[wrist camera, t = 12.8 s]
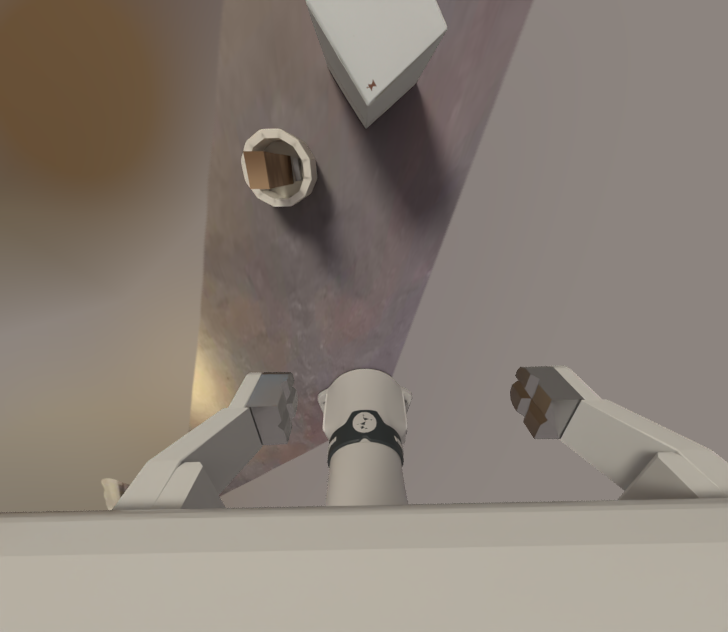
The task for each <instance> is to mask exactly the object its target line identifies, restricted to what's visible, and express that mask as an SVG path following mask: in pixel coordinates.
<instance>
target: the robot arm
mask: <svg viewBox="0 0 728 632" xmlns="http://www.w3.org/2000/svg"><path fill="white" fill-rule="evenodd" d="M515 376H516V378H517V379H518V381H516V382H515V383H514V384H513V385H512V387H511V391H510V396H511V401H512V404H513V406H514V408H515V410H516V411H517V412H518V413H520V414H521V415H523V416H524V424H525V425H526V427H527V428H528V430H529V431H530V433H531V435H532V436H533V438H534V439H560V441H562V442H563V443H564V444H565V445H567V446H568V447H569V448H571V449H572V450H573V451H574V452H576V453H577V454H578V455H580V456H581V457H582V458H583V459H585V460H586V461H587V462H589V463H590V464H591V465H592V466H594V467H595V468H597V469H598V470H599V471H600V472H601V473H603V474H604V475H605V476H607V477H608V478H609V479H610V480H612V481H613V482H614V483H616V484H617V485H618V486H619V487H621V488H622V489H623V490H625V491H624V493H623V494H622V495H621V496H620V497H619V499H618V500H602V501H552V502H504V503H453V504H408V501H407V496H406V490H405V485H404V479H403V472H402V466H403V462H404V461H403V446H402V444H404V443H405V435H406V434H407V427H408V425H407V416H406V414H407V411H408V408H409V406H410V402H411V400H412V393H411V392H410V391H409V390H407V389H405V388H403V387H401V386H399V385H398V383H397V382H396V381H395V380H394V379H393V378H392V377H391V376H389V375H387V374H386V373H383V372H381V371H378V370H373V369H358V370H353V371H349V372H347V373H345V374H343V375H341V376H340V377H338V378H337V379H336V380H335V381H334V382H333V383H332V385H331V386H330V387H329V388H328V389H326V390H324V391H322V392H321V393H319V395H318V402H319V404H320V407H321V409H322V411H323V414H324V419H323V431H324V432H325V434H326V436H327V438H328V439H329V447H328V454H327V456H328V466H329V477H328V485H327V486H328V487H327V495H326V504H325V506H307V507H259V508H258V507H257V508H225V505H224V504H223V502H222V500H221V499H220V497H219V494H220V493H221V492H222V491H223V490H224V489H225V488H226V486H227V485H228V484H229V483H230V482H231V481H232V480H233V479H234V478H235V476H236V475H237V474H238V473H239V472H240V471H241V470H242V469H243V468H244V466H245V465H246V464H247V463H248V462H249V461H250V460H251V459H252V458H253V457H254V455H255V454H256V453H257V452H258V451H259V450H260V449H261V448H262V445H276V444H287V443H288V440H289V436H290V433H291V429H292V424H291V419H292V418H293V417H295V414H296V410H297V402H298V400H297V391H296V389H295V388H294V387H293V383H294V377H293V374H292V373H291V372H264V373H249V374H247V375H246V377H245V379H244V380H243V382H242V384H241V386H240V387H239V389H238V391H237V393H236V394H235V396H234V398H233V400H232V402H231V403H230V405H229V407H228V408H223V409H222V410H220V411H219V412H217V413H216V414H214V415H213V416H212V417H210V418H209V419H207V420H206V421H204V422H203V423H202V424H200V425H199V426H197V427H196V428H195V429H193V430H192V431H190V432H189V433H187V434H186V435H185V436H183V437H182V438H180V439H179V440H177V441H176V442H175V443H173V444H172V445H170V446H169V447H168V448H166V449H165V450H163V451H162V452H160V453H159V454H158V455H156V456H155V457H153V458H152V459H151V460H149V461H148V462H147V463H146V464H145V466H144V467H143V468H142V470H141V471H140V473H139V474H138V475H137V477H136V478H135V479H134V481H133V482H132V483H131V485H130V486H129V487H128V489H127V490H126V491H125V493H124V494H123V496H122V497H121V498H120V500H119V501H118V502H117V504H116V505H115V506H114V508H113V509H112V510H99V511H53V512H52V511H46V512H0V632H728V463H727V462H726V461H725V460H723V459H722V458H721V457H720V456H718V455H717V454H716V453H715V452H713V451H712V450H710V449H708V448H706V447H704V446H702V445H700V444H698V443H696V442H694V441H691V440H690V439H688V438H686V437H683V436H681V435H679V434H677V433H675V432H673V431H671V430H669V429H667V428H665V427H663V426H661V425H659V424H656V423H655V422H652V421H650V420H648V419H646V418H644V417H642V416H640V415H638V414H636V413H634V412H632V411H630V410H628V409H626V408H624V407H621V406H619V405H617V404H615V403H613V402H611V401H609V400H602V399H601V398H600V397H599V396H598V395H597V394H596V393H595V392H594V391H593V390H592V389H591V388H589V386H588V385H587V384H586V383H584V382H583V381H582V380H581V379H580V378H579V377H578V376H577V375H576V374H575V373H574V372H573V371H572V370H571V369H570V368H568V367H566V366H564V365H560V366H541V367H520V368H519V369H518V370H517V372H516V375H515ZM404 400H405V401H404Z"/></svg>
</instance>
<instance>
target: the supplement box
mask: <svg viewBox="0 0 728 632" xmlns="http://www.w3.org/2000/svg"><path fill="white" fill-rule="evenodd" d="M306 4H307V7H308V10H309V14H310V17H311V20H312V23H313V26H314V28H315V31H316V34H317V37H318V40H319V43H320V45H321V48H322V51H323V54H324V57H325V60H326V63H327V66H328V68H329V70H330V72H331V74H332V75H333V77H334V79H335V80H336V82H337V84H338V85H339V87H340V89H341V90H342V92H343V94H344V95H345V97H346V99H347V100H348V102H349V103H350V105H351V107H352V108H353V110H354V111H355V113H356V114H357V116H358V118H359V119H360V121H361V122H362V124H363V125H364V127H365V129H367V128H368V127H369V126H370V125H371V124H372V123H373V122H374V121H375V120H376V119H378V118H379V117H380V116H381V115H382V114H383V113H384V112H385V111H387V110H388V109H389V108H390V107H391V106H392V105H393V104H394V103H395V102H396V101H398V100H399V99H400V98H401V97H402V96H403V95H404V94H405V93H406V92H407V91H408V90H410V89H411V88H412V87H413V86H414V85H415V84H416V83H417V81H418V79H419V77H420V76H421V74H422V72H423V70H424V69H425V67H426V65H427V63H428V62H429V60H430V59H431V57H432V55H433V53H434V52H435V50H436V48H437V46H438V45H439V43H440V41H441V39H442V38H443V36H444V34H445V32H446V31H447V25H446V23H445V20H444V18H443V16H442V13H441V11H440V9H439V6H438V4H437V1H436V0H306Z"/></svg>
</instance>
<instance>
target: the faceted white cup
mask: <svg viewBox="0 0 728 632" xmlns="http://www.w3.org/2000/svg"><path fill="white" fill-rule="evenodd" d="M244 151H265V152H271V153H276V154H282V155H288V156H291V164H292V172H293V180H294V184H290V185H285V186H281V187H276V188H272V189H252V191H253V192H254V193H255V195H256V196H257V198H259V199H261V200H263V201H265V202H266V203H268V204H270V205H272V206H274V207H283V206H293V205H295V204H296V203H298V202H300V201H301V200H303V199H304V198H306V197H307V196H308V195H310V194H311V193H312V191H313V188H314V186H315V183H316V181H317V168H316V160H315V158H314V156H313V155H312V153H311V151H310V150H309V148H308V146H307V145H306V143H304V142H303V141H301V140H300V139H298V138H296V137H295V136H293V135H291V134H290V133H288V132H286V131H283V130H281V129H260V130H259V131H258V132H257V133H255V134H254V135H253V136H252V137H251V138H249V139H248V140H247V141H246V144H245V147H244ZM241 163H242V168H243V173H244V177H245V181H246V183H247V184H248V185H249V187H250V184H249V179H248V174H247V169H246V164H245V159H244V154H243V155H242V158H241Z"/></svg>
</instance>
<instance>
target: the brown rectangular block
mask: <svg viewBox="0 0 728 632" xmlns="http://www.w3.org/2000/svg"><path fill="white" fill-rule="evenodd" d="M243 154H244V159H245V164H246V169H247V174H248V179H249V184H250V189H272V188H276V187H281V186H285V185H290V184H294V180H293V172H292V164H291V156H288V155H282V154H276V153H271V152H265V151H243Z"/></svg>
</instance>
